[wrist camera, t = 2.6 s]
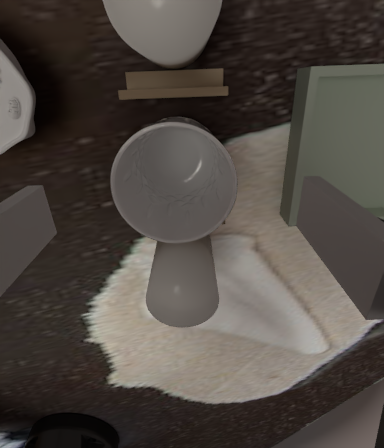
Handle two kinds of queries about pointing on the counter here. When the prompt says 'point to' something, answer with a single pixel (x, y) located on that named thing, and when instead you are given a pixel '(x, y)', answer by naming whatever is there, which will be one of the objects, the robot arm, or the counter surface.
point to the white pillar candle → (165, 28)
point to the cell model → (14, 101)
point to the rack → (174, 84)
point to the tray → (337, 135)
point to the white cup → (174, 181)
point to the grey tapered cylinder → (183, 283)
